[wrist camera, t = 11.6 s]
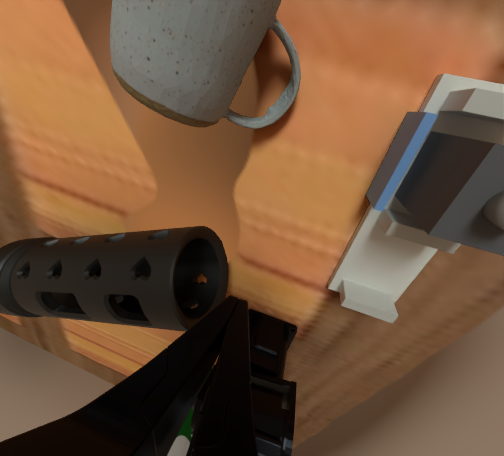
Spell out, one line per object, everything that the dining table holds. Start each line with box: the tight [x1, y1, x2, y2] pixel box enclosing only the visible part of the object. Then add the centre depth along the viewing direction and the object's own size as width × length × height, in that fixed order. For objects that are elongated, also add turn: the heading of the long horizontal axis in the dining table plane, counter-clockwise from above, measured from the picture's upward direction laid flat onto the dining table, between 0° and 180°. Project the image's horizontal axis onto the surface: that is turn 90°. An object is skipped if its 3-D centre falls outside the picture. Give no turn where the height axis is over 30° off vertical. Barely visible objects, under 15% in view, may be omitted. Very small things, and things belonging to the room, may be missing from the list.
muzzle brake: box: [0, 226, 228, 331], centre depth 24 cm, size 10×28×10 cm, turn 103°
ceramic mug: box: [110, 0, 301, 129], centre depth 12 cm, size 11×8×8 cm
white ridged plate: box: [328, 74, 504, 323], centre depth 16 cm, size 18×7×3 cm, turn 168°
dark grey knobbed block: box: [395, 131, 504, 256], centre depth 12 cm, size 4×4×7 cm
